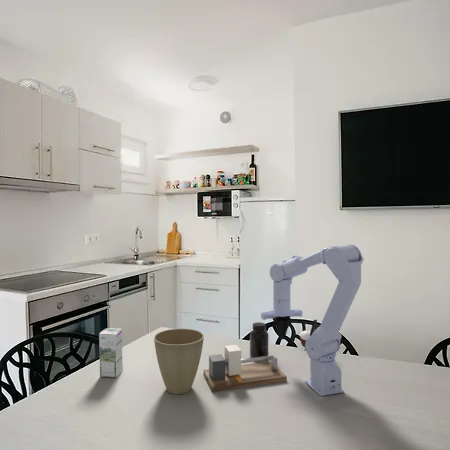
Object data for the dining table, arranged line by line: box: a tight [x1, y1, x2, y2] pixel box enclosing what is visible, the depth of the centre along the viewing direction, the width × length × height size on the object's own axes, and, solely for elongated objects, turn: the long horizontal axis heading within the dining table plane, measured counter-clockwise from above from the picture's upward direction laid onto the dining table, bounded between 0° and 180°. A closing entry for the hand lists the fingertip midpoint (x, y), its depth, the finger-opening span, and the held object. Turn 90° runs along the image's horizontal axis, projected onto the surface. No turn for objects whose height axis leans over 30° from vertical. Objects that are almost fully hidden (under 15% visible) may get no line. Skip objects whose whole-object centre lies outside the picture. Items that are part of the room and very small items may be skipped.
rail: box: [225, 355, 278, 371], centre depth 115 cm, size 2×20×5 cm, turn 106°
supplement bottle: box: [249, 321, 269, 358], centre depth 132 cm, size 7×7×12 cm
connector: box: [208, 353, 225, 381], centre depth 112 cm, size 5×4×6 cm
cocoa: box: [299, 319, 318, 349], centre depth 141 cm, size 10×6×12 cm, turn 177°
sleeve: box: [224, 344, 242, 376], centre depth 113 cm, size 5×4×8 cm
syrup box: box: [98, 327, 124, 378], centre depth 117 cm, size 6×6×14 cm
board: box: [203, 361, 288, 393], centre depth 114 cm, size 12×24×2 cm, turn 106°
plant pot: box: [153, 328, 205, 395], centre depth 108 cm, size 15×15×16 cm
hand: (281, 338), depth 122 cm, fingers closed
